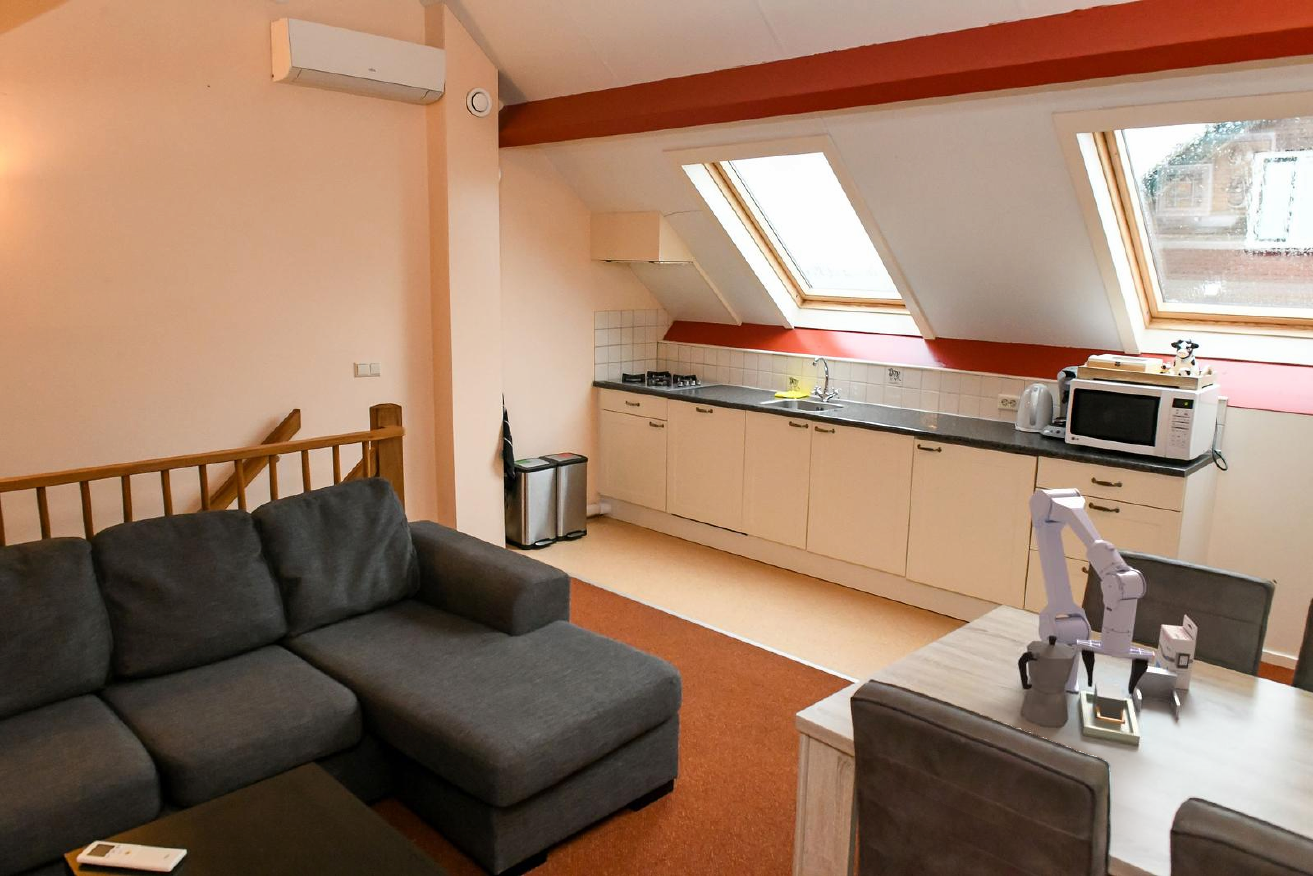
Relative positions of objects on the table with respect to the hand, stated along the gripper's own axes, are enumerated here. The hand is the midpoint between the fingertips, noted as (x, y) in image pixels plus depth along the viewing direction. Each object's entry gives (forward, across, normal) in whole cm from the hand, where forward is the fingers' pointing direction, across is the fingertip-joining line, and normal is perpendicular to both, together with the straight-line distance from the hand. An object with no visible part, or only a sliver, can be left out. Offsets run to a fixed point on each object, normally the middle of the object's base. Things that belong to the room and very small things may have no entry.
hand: (1109, 688), depth 194 cm
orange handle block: (+6, 0, -3) cm, 6 cm away
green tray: (+6, 0, -3) cm, 7 cm away
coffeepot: (+6, -13, -7) cm, 16 cm away
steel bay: (+6, +10, +10) cm, 16 cm away
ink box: (+6, +15, +24) cm, 29 cm away
